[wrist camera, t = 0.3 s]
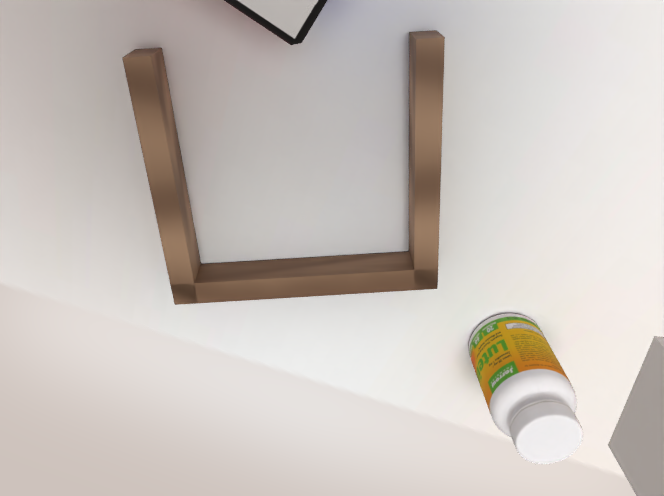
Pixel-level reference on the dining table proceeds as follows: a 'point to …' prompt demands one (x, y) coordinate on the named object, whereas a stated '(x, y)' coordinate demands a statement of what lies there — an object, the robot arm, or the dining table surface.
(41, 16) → the dining table surface
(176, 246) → the frame
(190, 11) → the dining table surface
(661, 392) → the robot arm
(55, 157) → the dining table surface
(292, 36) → the puzzle cube
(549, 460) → the supplement bottle
